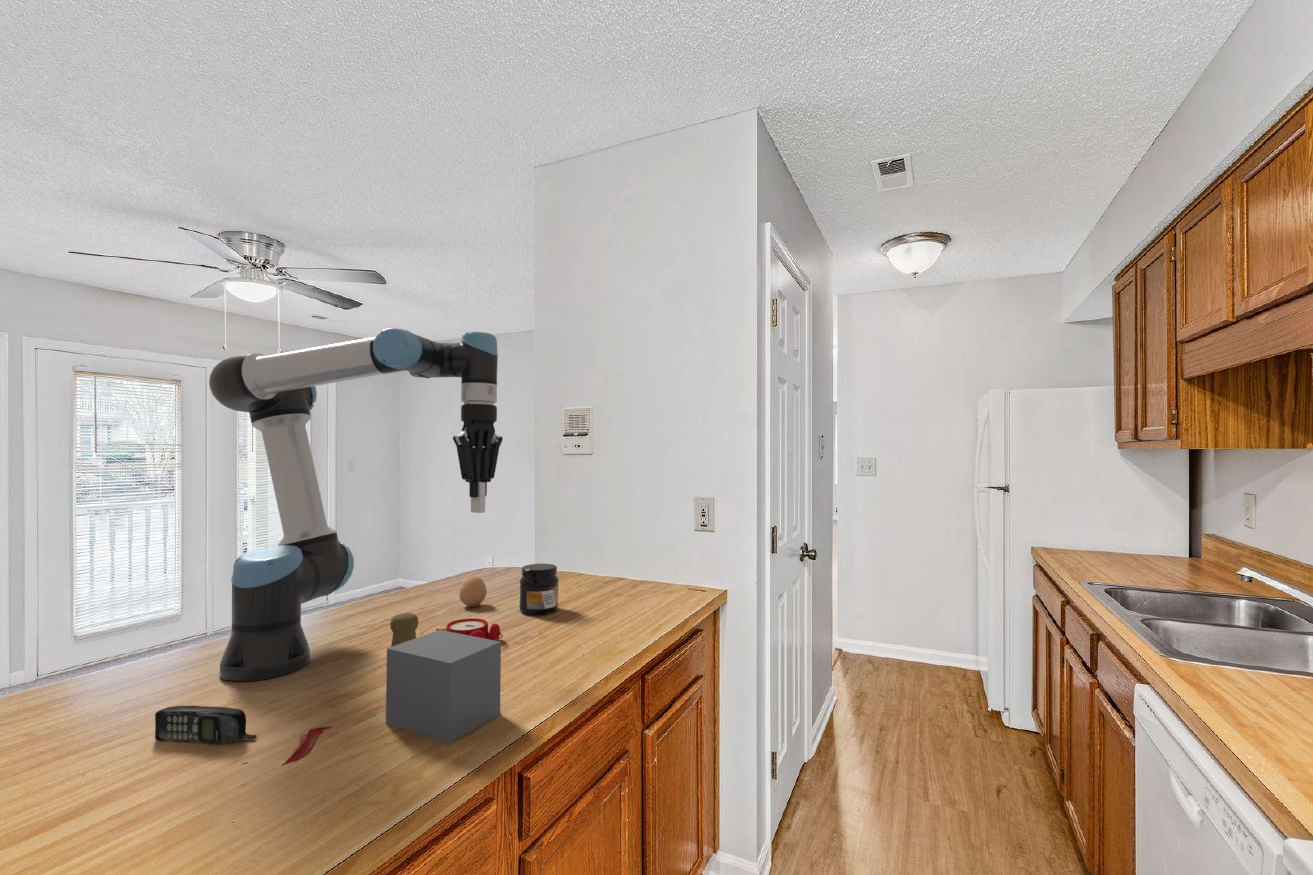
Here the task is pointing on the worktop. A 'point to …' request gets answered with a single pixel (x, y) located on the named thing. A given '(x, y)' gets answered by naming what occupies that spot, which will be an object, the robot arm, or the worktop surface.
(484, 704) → the gray box
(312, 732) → the cayenne pepper
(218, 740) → the mobile phone
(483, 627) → the alarm clock
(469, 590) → the egg
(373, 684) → the worktop surface
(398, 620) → the cork
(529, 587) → the supplement container
